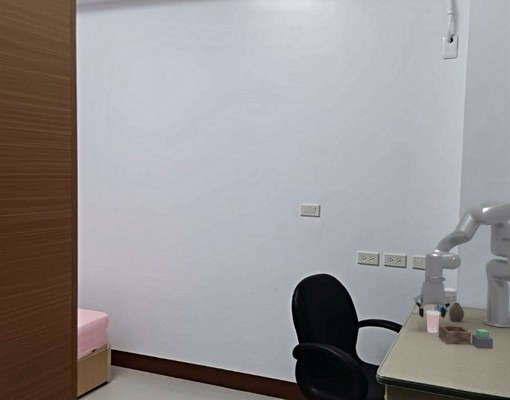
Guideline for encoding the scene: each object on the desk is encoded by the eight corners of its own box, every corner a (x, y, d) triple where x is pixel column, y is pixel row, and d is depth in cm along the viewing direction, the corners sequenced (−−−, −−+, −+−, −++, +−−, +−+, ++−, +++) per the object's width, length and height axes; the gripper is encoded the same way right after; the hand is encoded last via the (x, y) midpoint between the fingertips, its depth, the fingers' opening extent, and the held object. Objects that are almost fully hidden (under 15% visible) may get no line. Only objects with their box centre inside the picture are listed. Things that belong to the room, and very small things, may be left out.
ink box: (439, 311, 265) (440, 290, 264) (436, 307, 273) (437, 286, 273) (456, 312, 263) (457, 290, 263) (453, 308, 272) (453, 287, 271)
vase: (465, 323, 244) (465, 305, 243) (450, 322, 245) (450, 304, 245) (462, 319, 250) (462, 302, 250) (447, 318, 252) (448, 301, 251)
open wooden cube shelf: (461, 337, 221) (461, 325, 221) (470, 344, 211) (470, 332, 211) (438, 336, 221) (438, 325, 221) (446, 343, 211) (447, 332, 211)
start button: (484, 341, 211) (485, 329, 210) (488, 344, 207) (489, 332, 207) (475, 340, 211) (476, 329, 210) (479, 343, 207) (480, 331, 207)
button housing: (486, 343, 212) (486, 334, 212) (492, 348, 206) (492, 338, 206) (472, 343, 212) (472, 334, 212) (478, 348, 206) (478, 338, 206)
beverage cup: (438, 334, 225) (438, 303, 224) (424, 331, 228) (424, 301, 228) (441, 330, 230) (441, 300, 230) (427, 328, 233) (427, 299, 233)
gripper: (449, 279, 232) (448, 315, 232) (412, 277, 232) (410, 314, 233) (455, 282, 224) (454, 319, 225) (417, 280, 225) (415, 318, 225)
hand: (432, 316), depth 229 cm, fingers open, 9 cm apart
